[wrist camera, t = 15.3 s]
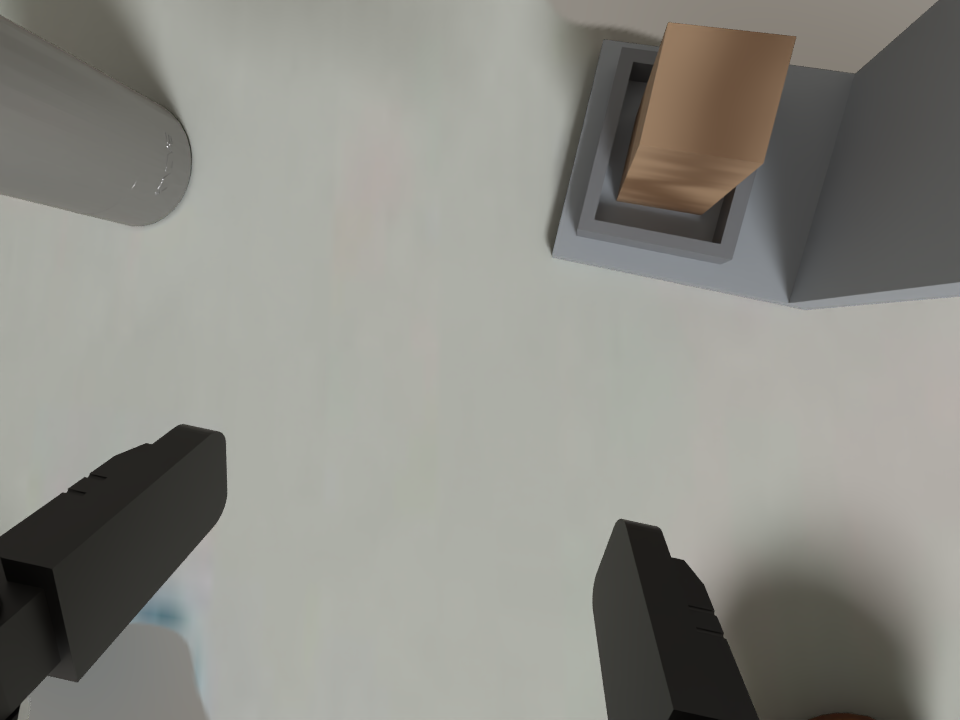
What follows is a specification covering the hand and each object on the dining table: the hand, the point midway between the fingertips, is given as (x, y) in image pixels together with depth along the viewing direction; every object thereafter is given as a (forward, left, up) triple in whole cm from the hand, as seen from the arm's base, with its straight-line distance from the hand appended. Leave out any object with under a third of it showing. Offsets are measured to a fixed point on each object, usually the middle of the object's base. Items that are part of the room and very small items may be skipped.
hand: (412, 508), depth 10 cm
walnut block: (+6, +15, -22) cm, 27 cm away
